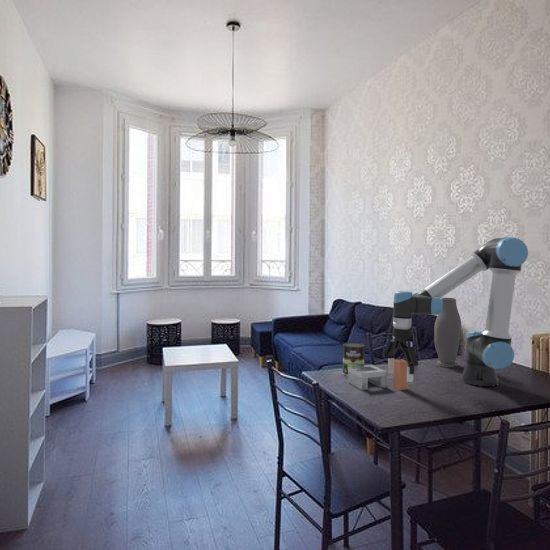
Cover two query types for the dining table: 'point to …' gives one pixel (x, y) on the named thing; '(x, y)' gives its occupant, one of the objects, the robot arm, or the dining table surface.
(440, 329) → the vase
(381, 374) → the square tube ring
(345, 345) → the coffee can
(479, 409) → the dining table surface
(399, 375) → the orange rectangular block
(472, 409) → the dining table surface
